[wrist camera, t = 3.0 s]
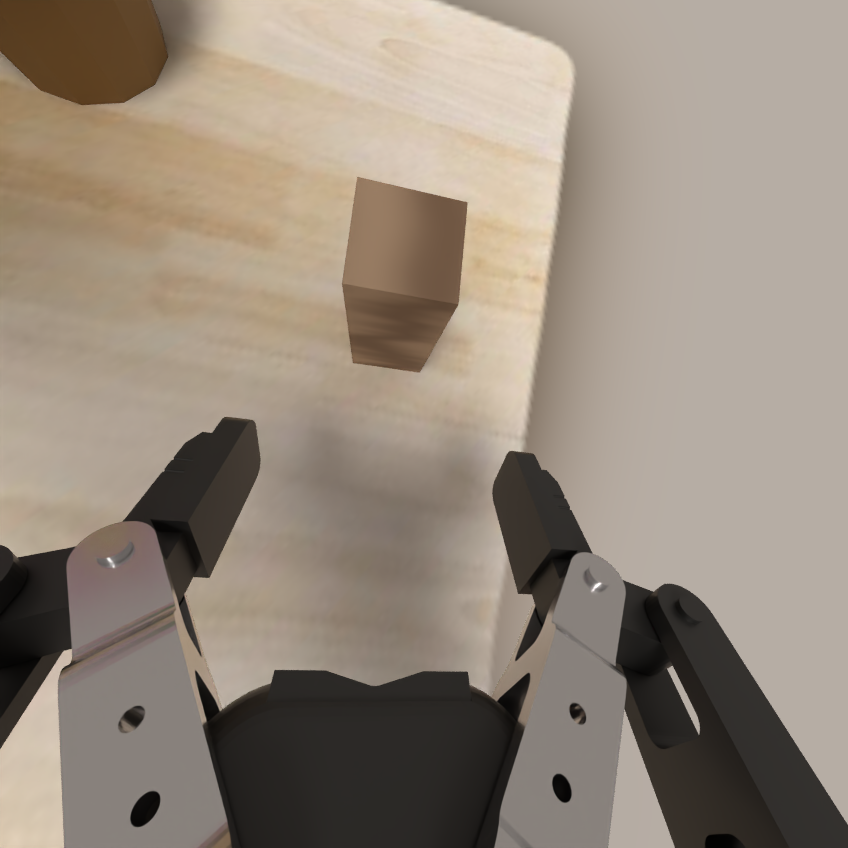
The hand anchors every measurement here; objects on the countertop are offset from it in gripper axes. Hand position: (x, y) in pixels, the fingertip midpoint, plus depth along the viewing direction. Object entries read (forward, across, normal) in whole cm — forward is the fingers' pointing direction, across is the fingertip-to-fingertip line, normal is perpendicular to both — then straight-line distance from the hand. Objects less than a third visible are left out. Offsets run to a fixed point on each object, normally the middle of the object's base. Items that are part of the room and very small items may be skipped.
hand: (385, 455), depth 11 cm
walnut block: (+16, 0, +3) cm, 17 cm away
